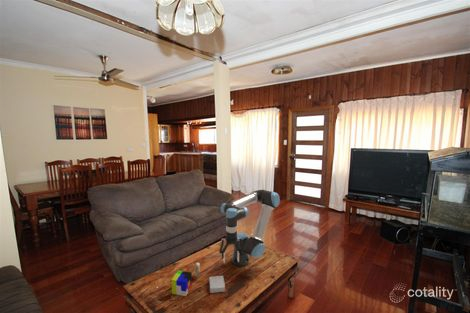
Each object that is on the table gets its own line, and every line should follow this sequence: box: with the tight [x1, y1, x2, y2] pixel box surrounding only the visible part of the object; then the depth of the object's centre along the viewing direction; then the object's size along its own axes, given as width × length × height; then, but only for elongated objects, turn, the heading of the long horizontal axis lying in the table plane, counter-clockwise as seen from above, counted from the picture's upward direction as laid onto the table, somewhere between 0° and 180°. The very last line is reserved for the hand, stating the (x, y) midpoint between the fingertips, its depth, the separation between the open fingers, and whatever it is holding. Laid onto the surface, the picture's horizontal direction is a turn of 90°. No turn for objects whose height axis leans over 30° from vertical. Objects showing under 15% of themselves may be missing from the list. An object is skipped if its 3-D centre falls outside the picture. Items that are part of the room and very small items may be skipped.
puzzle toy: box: [171, 270, 193, 297], centre depth 145 cm, size 10×10×10 cm
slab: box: [208, 275, 226, 294], centre depth 149 cm, size 10×12×4 cm
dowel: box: [194, 262, 201, 279], centre depth 158 cm, size 4×4×10 cm
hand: (231, 261), depth 149 cm, fingers open, 9 cm apart
